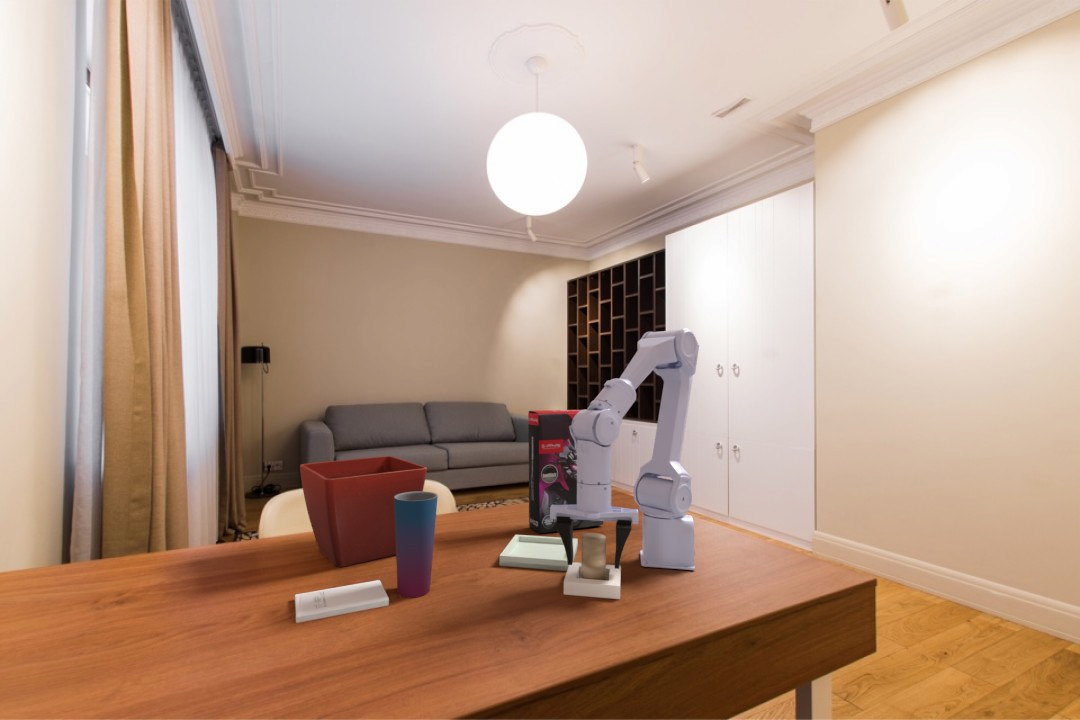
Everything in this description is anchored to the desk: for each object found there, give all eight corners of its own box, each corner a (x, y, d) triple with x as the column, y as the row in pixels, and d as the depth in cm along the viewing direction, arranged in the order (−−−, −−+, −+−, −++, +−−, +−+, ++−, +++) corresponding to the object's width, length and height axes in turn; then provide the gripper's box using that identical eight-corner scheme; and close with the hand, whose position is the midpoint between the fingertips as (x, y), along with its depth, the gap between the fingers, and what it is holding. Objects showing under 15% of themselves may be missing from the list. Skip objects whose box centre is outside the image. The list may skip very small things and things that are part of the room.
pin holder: (620, 577, 85) (620, 565, 85) (619, 599, 76) (619, 586, 76) (570, 573, 86) (570, 561, 86) (563, 594, 78) (563, 581, 78)
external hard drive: (388, 609, 73) (295, 627, 67) (379, 588, 80) (294, 603, 75) (389, 598, 73) (296, 615, 68) (379, 578, 81) (294, 592, 75)
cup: (424, 602, 74) (426, 501, 75) (383, 598, 76) (386, 499, 76) (442, 584, 81) (444, 492, 82) (404, 580, 82) (406, 490, 83)
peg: (606, 582, 83) (606, 533, 83) (605, 591, 79) (605, 541, 79) (582, 580, 84) (582, 532, 84) (580, 589, 80) (580, 539, 80)
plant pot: (322, 579, 83) (326, 478, 84) (295, 548, 98) (298, 463, 99) (427, 555, 95) (429, 467, 96) (388, 531, 110) (390, 455, 111)
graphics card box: (537, 535, 108) (539, 411, 110) (525, 527, 114) (527, 409, 116) (604, 527, 115) (604, 410, 117) (589, 519, 122) (589, 409, 123)
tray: (577, 547, 100) (577, 538, 100) (570, 571, 87) (570, 560, 88) (515, 543, 103) (515, 534, 103) (499, 565, 90) (499, 555, 90)
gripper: (547, 484, 79) (546, 570, 79) (638, 488, 77) (638, 577, 76) (553, 476, 86) (553, 555, 86) (637, 480, 84) (637, 561, 83)
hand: (593, 564), depth 81 cm, fingers open, 7 cm apart
